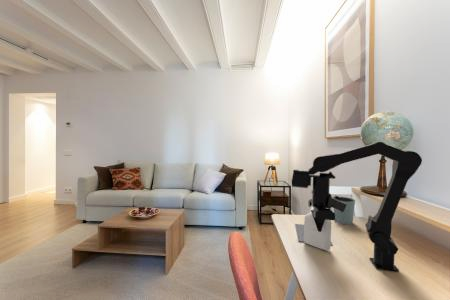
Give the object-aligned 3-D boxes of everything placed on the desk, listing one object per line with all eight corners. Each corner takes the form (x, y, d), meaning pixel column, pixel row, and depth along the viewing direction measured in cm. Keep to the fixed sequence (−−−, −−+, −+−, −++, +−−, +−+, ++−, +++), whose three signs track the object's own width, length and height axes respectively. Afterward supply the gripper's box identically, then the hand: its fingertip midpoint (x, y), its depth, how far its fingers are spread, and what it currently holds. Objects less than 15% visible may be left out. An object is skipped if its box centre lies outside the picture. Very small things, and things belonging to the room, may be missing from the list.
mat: (332, 245, 89) (332, 244, 89) (298, 241, 93) (298, 241, 93) (323, 227, 109) (323, 226, 109) (295, 224, 112) (295, 223, 112)
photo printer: (301, 242, 91) (303, 211, 91) (307, 240, 93) (308, 210, 94) (326, 252, 83) (328, 218, 83) (332, 249, 85) (333, 217, 86)
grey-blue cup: (351, 219, 120) (351, 197, 120) (357, 226, 111) (358, 202, 110) (330, 217, 123) (331, 196, 122) (334, 224, 113) (335, 200, 113)
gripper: (353, 196, 72) (351, 244, 72) (338, 186, 90) (336, 225, 91) (316, 193, 75) (314, 240, 75) (308, 185, 93) (307, 222, 93)
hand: (319, 231), depth 83 cm, fingers closed
